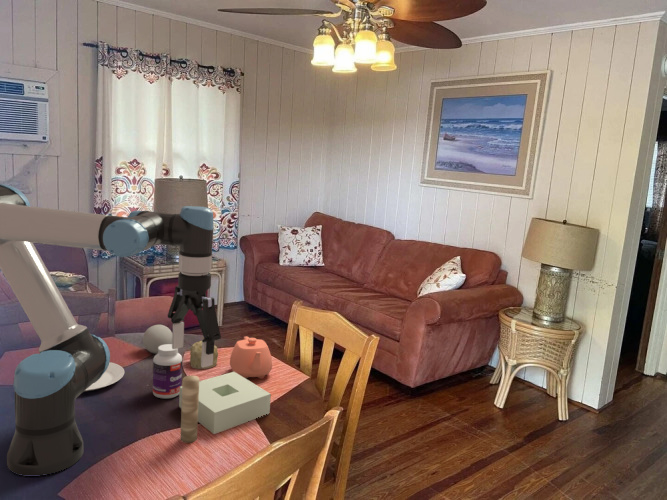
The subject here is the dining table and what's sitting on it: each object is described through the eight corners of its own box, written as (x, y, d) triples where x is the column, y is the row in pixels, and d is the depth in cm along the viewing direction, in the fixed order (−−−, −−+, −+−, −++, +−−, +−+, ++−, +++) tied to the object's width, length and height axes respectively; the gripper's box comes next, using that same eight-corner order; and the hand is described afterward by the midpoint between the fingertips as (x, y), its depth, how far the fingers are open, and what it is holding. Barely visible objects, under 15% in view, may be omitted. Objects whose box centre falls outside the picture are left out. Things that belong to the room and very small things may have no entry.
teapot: (236, 390, 157) (238, 352, 155) (225, 364, 175) (226, 330, 173) (278, 386, 162) (281, 349, 160) (263, 361, 180) (265, 328, 178)
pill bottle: (172, 402, 146) (174, 354, 144) (146, 397, 148) (147, 350, 145) (186, 390, 154) (187, 344, 151) (161, 385, 155) (162, 340, 153)
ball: (178, 353, 181) (179, 326, 179) (153, 360, 173) (153, 332, 171) (162, 345, 187) (162, 319, 185) (136, 351, 179) (137, 324, 177)
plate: (44, 401, 141) (44, 394, 141) (50, 370, 160) (50, 363, 159) (125, 393, 150) (125, 385, 149) (122, 364, 168) (123, 358, 168)
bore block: (213, 434, 132) (214, 412, 131) (179, 406, 144) (179, 386, 143) (269, 413, 144) (270, 393, 143) (233, 390, 157) (234, 371, 156)
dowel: (185, 444, 126) (187, 383, 123) (177, 437, 129) (179, 378, 126) (200, 439, 129) (202, 379, 126) (191, 432, 132) (194, 374, 129)
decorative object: (218, 376, 173) (228, 348, 177) (200, 368, 165) (211, 338, 169) (197, 371, 178) (207, 344, 181) (179, 363, 170) (190, 334, 173)
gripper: (239, 282, 116) (234, 370, 120) (182, 260, 133) (179, 338, 136) (210, 286, 110) (206, 378, 114) (155, 262, 127) (153, 343, 131)
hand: (191, 356), depth 125 cm, fingers open, 13 cm apart
